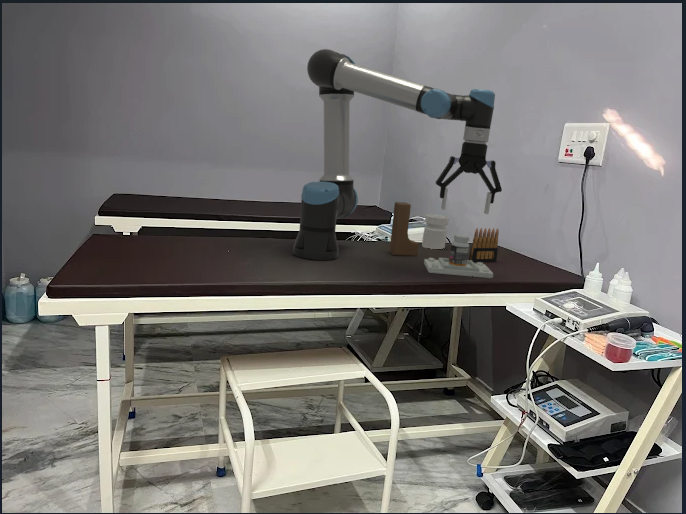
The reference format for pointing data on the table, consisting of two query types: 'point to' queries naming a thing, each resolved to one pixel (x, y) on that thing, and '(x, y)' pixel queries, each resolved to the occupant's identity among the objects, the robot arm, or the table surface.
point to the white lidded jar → (435, 231)
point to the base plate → (457, 268)
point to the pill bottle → (459, 251)
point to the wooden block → (402, 232)
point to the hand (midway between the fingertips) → (464, 211)
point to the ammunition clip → (484, 246)
